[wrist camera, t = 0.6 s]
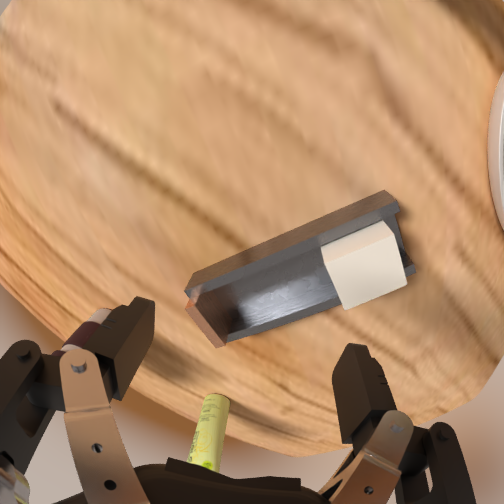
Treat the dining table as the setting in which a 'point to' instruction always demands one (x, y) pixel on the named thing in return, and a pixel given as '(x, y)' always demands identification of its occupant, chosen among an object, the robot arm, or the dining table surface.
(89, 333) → the coffee cup
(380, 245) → the block
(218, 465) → the tube
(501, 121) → the bowl
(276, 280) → the chute
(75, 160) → the dining table surface
